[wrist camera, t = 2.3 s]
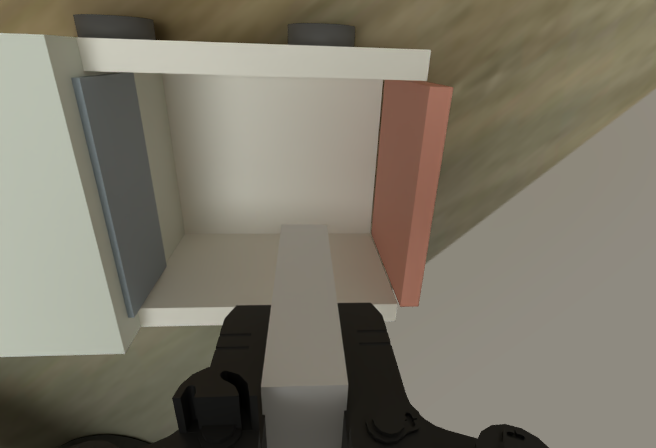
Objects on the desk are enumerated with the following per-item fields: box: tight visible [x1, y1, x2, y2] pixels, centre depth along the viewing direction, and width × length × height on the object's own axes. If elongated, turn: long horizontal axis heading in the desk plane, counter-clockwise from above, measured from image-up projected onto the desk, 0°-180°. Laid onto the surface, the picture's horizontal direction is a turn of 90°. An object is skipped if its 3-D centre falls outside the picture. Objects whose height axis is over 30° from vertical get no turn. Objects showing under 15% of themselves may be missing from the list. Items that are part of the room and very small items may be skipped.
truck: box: [0, 14, 431, 357], centre depth 22 cm, size 17×21×15 cm
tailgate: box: [371, 80, 453, 307], centre depth 22 cm, size 11×1×9 cm, turn 178°
